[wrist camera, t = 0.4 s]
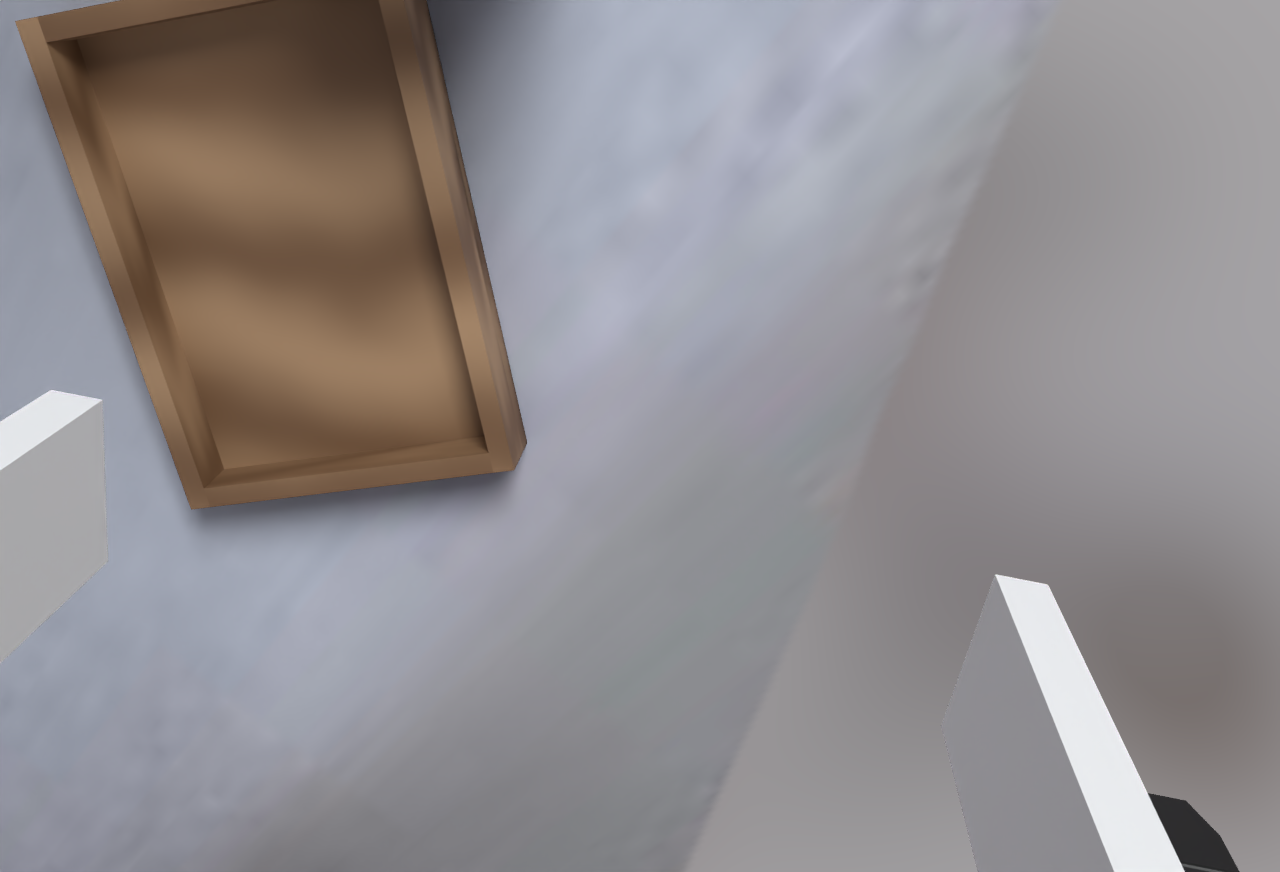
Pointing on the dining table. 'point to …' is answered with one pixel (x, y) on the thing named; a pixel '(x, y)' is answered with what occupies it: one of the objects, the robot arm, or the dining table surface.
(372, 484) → the walnut tray
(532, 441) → the dining table surface
